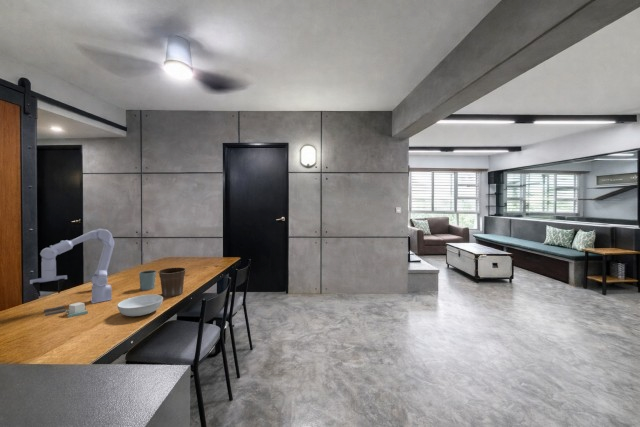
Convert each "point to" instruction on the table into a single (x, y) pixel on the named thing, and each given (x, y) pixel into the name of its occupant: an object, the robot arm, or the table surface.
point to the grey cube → (76, 308)
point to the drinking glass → (147, 280)
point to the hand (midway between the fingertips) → (49, 294)
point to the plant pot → (172, 281)
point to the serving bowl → (140, 305)
